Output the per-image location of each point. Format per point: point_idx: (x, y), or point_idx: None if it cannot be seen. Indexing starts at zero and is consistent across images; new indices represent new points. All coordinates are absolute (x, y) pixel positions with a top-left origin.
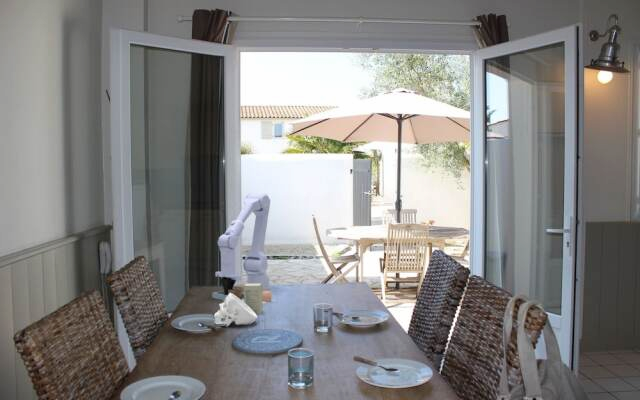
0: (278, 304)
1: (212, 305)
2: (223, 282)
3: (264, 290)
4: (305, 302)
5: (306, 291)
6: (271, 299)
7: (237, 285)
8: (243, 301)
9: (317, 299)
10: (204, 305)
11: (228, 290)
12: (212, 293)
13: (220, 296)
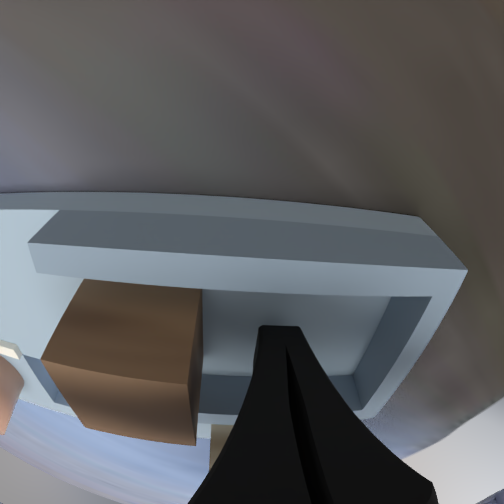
0: None
1: (268, 53)
2: (327, 491)
3: (2, 430)
4: None
5: (158, 488)
6: (28, 398)
7: None
8: (31, 299)
9: (39, 444)
10: (353, 4)
11: (179, 375)
12: (460, 264)
13: (288, 243)
